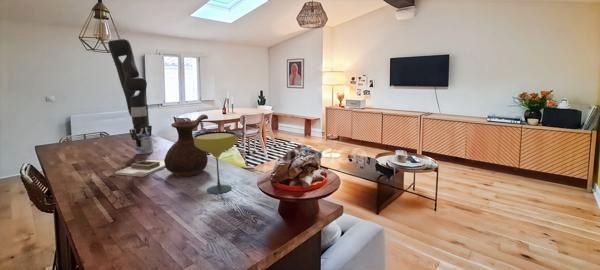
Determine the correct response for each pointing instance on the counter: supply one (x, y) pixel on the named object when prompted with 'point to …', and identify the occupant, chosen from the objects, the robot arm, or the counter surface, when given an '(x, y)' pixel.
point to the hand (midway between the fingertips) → (143, 145)
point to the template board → (142, 168)
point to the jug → (186, 151)
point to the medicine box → (144, 143)
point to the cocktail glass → (216, 151)
